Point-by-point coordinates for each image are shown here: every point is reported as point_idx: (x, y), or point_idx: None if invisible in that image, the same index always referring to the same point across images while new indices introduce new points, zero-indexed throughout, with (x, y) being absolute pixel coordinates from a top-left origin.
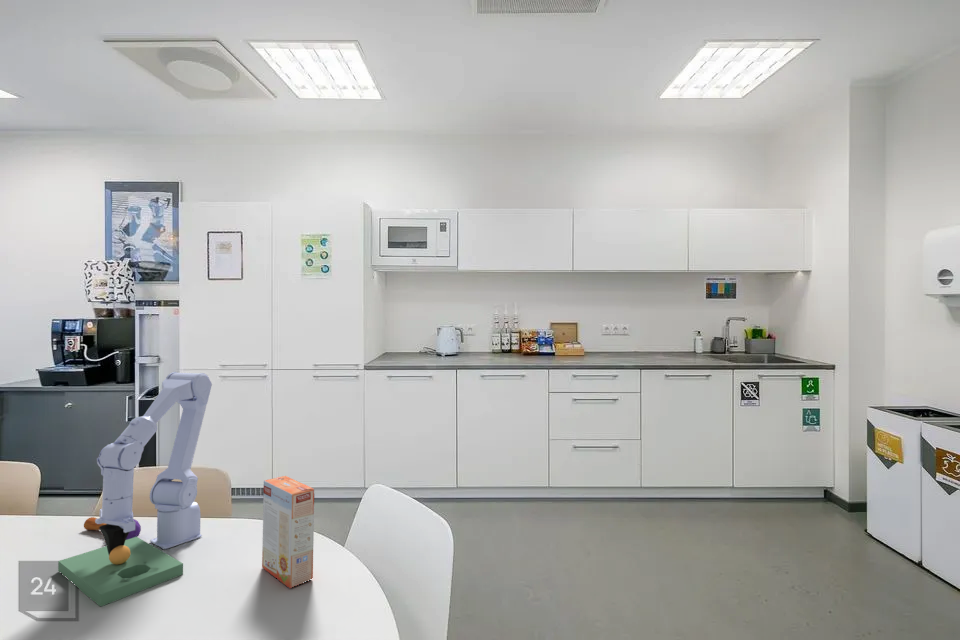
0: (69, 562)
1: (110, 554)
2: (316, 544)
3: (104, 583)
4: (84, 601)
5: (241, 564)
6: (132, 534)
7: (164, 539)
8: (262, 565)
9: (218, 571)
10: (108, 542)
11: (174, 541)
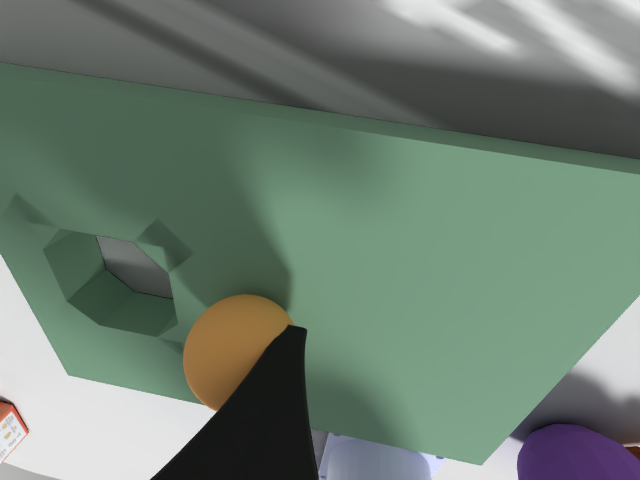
0: (590, 213)
1: (234, 333)
2: (71, 475)
3: (48, 152)
4: (100, 43)
5: (66, 405)
6: (525, 474)
7: (358, 461)
8: (2, 411)
9: (58, 374)
10: (228, 423)
11: (334, 455)
